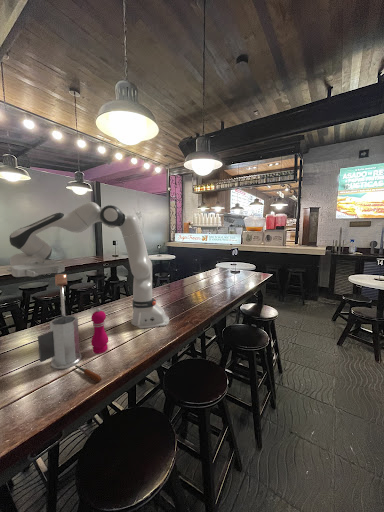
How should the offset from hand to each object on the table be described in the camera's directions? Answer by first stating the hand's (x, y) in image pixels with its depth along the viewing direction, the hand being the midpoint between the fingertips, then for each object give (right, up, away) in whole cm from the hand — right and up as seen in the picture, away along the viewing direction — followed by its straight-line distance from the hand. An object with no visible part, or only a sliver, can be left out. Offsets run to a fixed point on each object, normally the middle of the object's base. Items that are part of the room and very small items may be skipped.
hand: (48, 272), depth 94 cm
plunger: (+10, -26, -5) cm, 28 cm away
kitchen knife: (+23, -38, -12) cm, 46 cm away
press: (+10, -37, -5) cm, 39 cm away
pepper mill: (+20, -36, +5) cm, 42 cm away
